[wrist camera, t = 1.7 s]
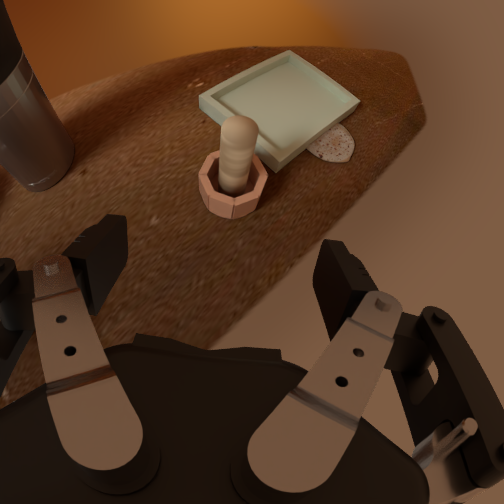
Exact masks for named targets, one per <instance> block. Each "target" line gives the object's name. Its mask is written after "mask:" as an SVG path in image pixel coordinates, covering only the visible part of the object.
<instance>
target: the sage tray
mask: <svg viewBox="0 0 504 504" xmlns="http://www.w3.org/2000/svg"><path fill="white" fill-rule="evenodd" d="M359 102H360V100H358V99H357V98H356V97H355V96H354V95H352V94H351V93H350V92H348V91H347V90H346V89H345V88H343V87H342V86H341V85H339V84H338V83H337V82H335V81H334V80H333V79H331V78H330V77H329V76H327V75H326V74H325V73H323V72H322V71H320V70H319V69H317V68H316V67H315V66H313V65H312V64H310V63H309V62H307V61H306V60H304V59H303V58H301V57H300V56H298V55H297V54H295V53H294V52H292V51H290V50H288V51H285V52H283V53H281V54H278V55H276V56H274V57H272V58H270V59H267V60H265V61H263V62H261V63H259V64H257V65H255V66H253V67H251V68H249V69H247V70H245V71H243V72H241V73H239V74H237V75H235V76H233V77H231V78H229V79H227V80H226V81H224V82H222V83H220V84H218V85H216V86H215V87H213V88H211V89H209V90H208V91H206V92H204V93H202V94H201V95H199V108H200V109H201V110H202V111H203V112H205V113H206V114H207V115H208V116H210V117H211V118H212V119H213V120H214V121H216V122H217V123H218V124H219V125H221V126H222V124H223V122H224V121H225V120H226V119H227V118H229V117H232V116H236V115H242V116H247V117H249V118H251V119H253V120H254V121H255V122H256V123H257V125H258V128H259V133H258V137H257V141H256V146H255V150H254V154H256V156H258V157H259V159H260V160H261V161H263V162H264V163H265V164H266V165H267V166H268V167H269V168H270V169H272V170H273V171H274V172H275V173H277V172H278V171H279V170H280V169H282V168H283V167H284V166H285V165H286V164H288V163H289V162H290V161H291V160H293V159H294V158H295V157H296V156H297V155H299V154H300V153H301V152H302V151H304V150H305V149H306V147H307V146H308V145H309V144H311V143H312V142H313V141H314V140H316V139H317V138H318V137H320V136H321V135H322V134H323V133H325V132H326V131H327V130H328V129H330V128H331V127H332V126H334V125H335V124H336V123H339V122H341V121H342V120H343V119H344V118H346V117H347V116H348V115H350V114H351V113H352V112H354V110H355V109H356V107H357V106H358V104H359Z"/></svg>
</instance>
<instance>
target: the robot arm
mask: <svg viewBox="0 0 504 504" xmlns="http://www.w3.org/2000/svg"><path fill="white" fill-rule="evenodd" d="M74 150H75V149H74V144H73V142H72V140H71V138H70V136H69V135H68V133H67V131H66V130H65V128H64V126H63V124H62V123H61V121H60V119H59V117H58V116H57V114H56V112H55V110H54V109H53V107H52V105H51V103H50V102H49V100H48V98H47V96H46V94H45V92H44V91H43V89H42V87H41V85H40V83H39V82H38V79H37V78H36V76H35V74H34V72H33V70H32V68H31V66H30V64H29V62H28V60H27V58H26V56H25V54H24V52H23V50H22V47H21V45H20V43H19V41H18V39H17V36H16V33H15V31H14V28H13V26H12V23H11V20H10V18H9V16H8V13H7V10H6V8H5V5H4V1H3V0H0V164H1V165H2V166H3V167H4V168H5V169H6V170H7V171H8V172H9V173H10V174H11V175H12V176H13V177H14V178H15V179H16V180H17V181H18V182H19V183H20V184H21V185H22V186H23V187H25V188H26V189H27V190H29V191H32V192H39V191H43V190H46V189H48V188H50V187H51V186H53V185H55V184H56V183H57V182H58V181H59V180H60V179H61V178H62V177H63V176H64V175H65V174H66V172H67V170H68V169H69V167H70V165H71V163H72V161H73V157H74ZM127 258H128V240H127V221H126V217H125V216H123V215H112V214H107V215H106V216H105V217H104V218H103V219H102V220H101V221H100V222H99V223H98V224H97V225H93V226H91V227H89V228H87V229H85V230H84V231H83V232H82V233H81V234H80V235H79V237H77V238H76V239H75V240H74V242H72V244H71V245H70V246H69V247H68V248H67V249H66V250H65V251H64V252H63V253H62V254H61V255H50V256H47V257H44V258H42V259H40V260H39V261H37V262H36V263H35V265H34V266H33V270H29V271H17V269H16V265H15V261H14V260H13V259H11V258H0V320H1V321H0V397H1V394H2V392H3V390H4V388H5V386H6V383H7V381H8V379H9V377H10V375H11V373H12V371H13V369H14V367H15V365H16V363H17V361H18V359H19V357H20V355H21V353H22V351H23V350H24V348H25V346H26V344H27V342H28V340H29V339H30V337H31V335H32V333H33V331H34V330H36V335H37V341H38V347H39V352H40V357H41V362H42V367H43V371H44V375H45V380H46V383H45V384H43V385H41V386H40V387H38V388H36V389H34V390H33V391H31V392H29V393H28V394H26V395H24V396H23V397H21V398H19V399H17V400H16V401H14V402H12V403H11V404H9V405H7V406H6V407H4V408H2V409H0V504H463V503H465V502H466V501H468V500H470V499H472V498H473V497H475V496H477V495H479V494H480V493H482V492H484V491H485V490H487V489H489V488H490V487H492V486H493V485H495V484H496V483H498V482H499V481H501V480H502V479H504V409H503V407H502V405H501V403H500V401H499V399H498V397H497V395H496V393H495V391H494V389H493V387H492V385H491V383H490V381H489V380H488V378H487V376H486V374H485V372H484V371H483V369H482V367H481V365H480V363H479V362H478V360H477V358H476V356H475V355H474V353H473V351H472V349H471V348H470V346H469V344H468V343H467V341H466V340H465V338H464V336H463V335H462V333H461V331H460V330H459V328H458V327H457V325H456V324H455V322H454V321H453V319H452V318H451V317H450V315H449V314H448V313H446V312H445V311H443V310H442V309H439V308H437V307H433V306H427V307H425V308H424V309H423V311H422V312H421V314H420V316H415V315H411V314H408V313H404V312H402V306H401V304H400V302H399V301H398V300H397V299H396V298H394V297H393V296H391V295H390V294H387V293H385V292H382V291H379V290H378V288H377V286H376V285H375V283H374V282H373V280H372V278H371V276H369V273H368V272H367V270H365V267H364V265H363V264H362V262H361V261H360V260H359V259H358V258H357V257H355V256H354V255H353V254H350V253H349V251H348V250H347V248H346V246H345V245H344V243H343V242H342V241H336V240H328V239H324V240H323V242H322V245H321V248H320V252H319V255H318V259H317V262H316V266H315V269H314V273H313V288H314V291H315V294H316V297H317V300H318V303H319V306H320V309H321V313H322V316H323V319H324V322H325V325H326V329H327V332H328V335H329V338H330V344H329V345H328V346H327V348H326V349H325V350H324V352H323V353H322V355H321V356H320V357H319V359H318V360H317V361H316V363H315V364H314V365H313V367H312V368H311V369H310V371H307V370H305V369H303V368H302V367H300V366H298V365H295V364H293V363H290V362H287V361H284V360H282V357H281V350H280V349H266V348H252V347H240V348H230V349H219V350H204V349H200V348H197V347H194V346H191V345H188V344H185V343H182V342H179V341H176V340H173V339H170V338H163V337H157V336H150V335H144V334H138V333H136V335H135V338H134V341H133V343H128V344H120V345H116V346H112V347H109V348H106V349H103V348H102V346H101V343H100V341H99V339H98V336H97V334H96V331H95V329H94V326H93V323H92V321H91V318H90V316H89V315H94V316H97V314H98V312H99V310H100V308H101V307H102V305H103V303H104V301H105V299H106V298H107V296H108V294H109V292H110V291H111V289H112V287H113V285H114V284H115V282H116V280H117V279H118V277H119V275H120V273H121V272H122V270H123V268H124V267H125V265H126V262H127ZM433 360H434V362H435V365H436V367H437V369H438V380H437V383H436V384H435V385H434V382H433V380H432V378H431V375H430V373H429V371H428V369H427V368H428V367H429V365H430V364H431V363H432V361H433ZM383 368H385V369H389V370H391V373H392V376H393V379H394V382H395V384H396V387H397V390H398V393H399V396H400V399H401V402H402V405H403V408H404V412H405V415H406V418H407V421H408V425H409V428H410V431H411V435H412V438H413V442H414V445H415V449H414V451H413V454H412V457H410V456H409V455H408V454H406V453H405V452H404V451H403V450H402V449H400V448H399V447H398V446H397V445H395V444H394V443H393V442H392V441H390V440H389V439H388V438H387V437H386V436H384V435H383V434H382V433H381V432H379V431H378V430H377V429H376V428H375V427H374V426H372V425H371V424H370V423H369V422H367V421H366V420H365V419H364V418H362V416H361V415H362V414H363V411H364V409H365V407H366V405H367V403H368V401H369V399H370V397H371V395H372V392H373V391H374V388H375V386H376V384H377V382H378V379H379V377H380V374H381V372H382V370H383Z"/></svg>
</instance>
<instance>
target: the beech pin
mask: <svg viewBox="0 0 504 504" xmlns="http://www.w3.org/2000/svg"><path fill="white" fill-rule="evenodd" d="M258 133H259V128H258V125H257V123H256V122H255V121H254V120H253V119H251V118H249V117H247V116H242V115H236V116H232V117H229V118H227V119H226V120H225V121H224V122H223V124H222V127H221V142H220V158H219V176H218V193H221V194H224V195H227V196H229V197H232V198H236V197H239V196H242V195H244V192H245V188H246V184H247V179H248V175H249V171H250V167H251V162H252V158H253V154H254V150H255V146H256V141H257V137H258Z"/></svg>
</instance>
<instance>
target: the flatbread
mask: <svg viewBox="0 0 504 504" xmlns="http://www.w3.org/2000/svg"><path fill="white" fill-rule="evenodd" d="M354 146H355V143H354V140H353V138H352V136H351V135H350V133H349V132H348V130H347V129H346V128H345V127H344V126H342V125H341V124H340V123H336V124H335V125H334V126H332V127H331V128H330V129H328V130H327V131H326V132H325V133H323V134H322V135H321V136H320V137H318V138H317V139H316V140H314V141H313V142H312V143H311V144H309V145H308V146H307V147H306V149H308V150H309V151H310V152H311V153H312V154H314V155H315V156H317V157H319V158H320V159H323V160H325V161H329V162H347V161H349V160H350V157H351V155H352V153H353V151H354Z"/></svg>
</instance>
